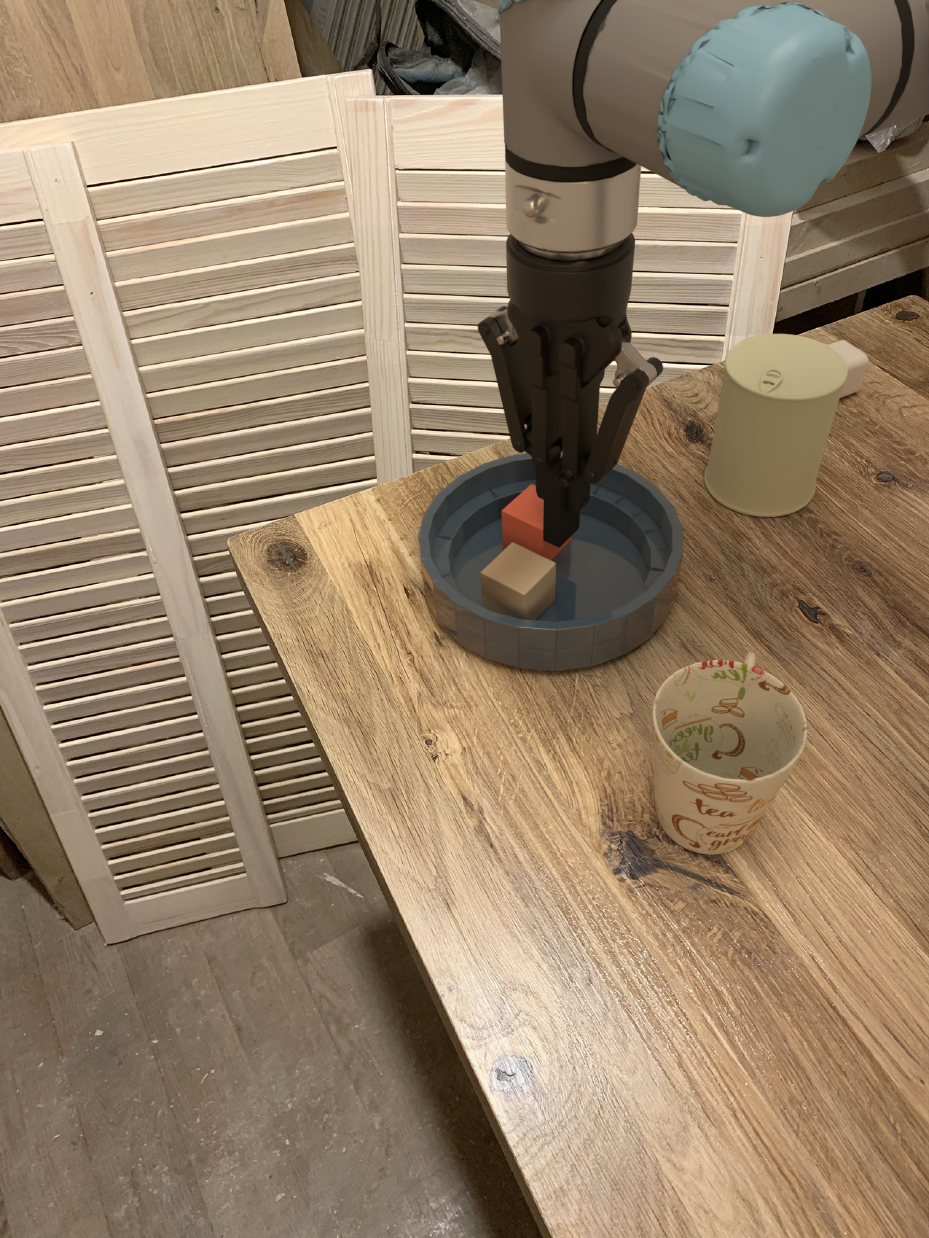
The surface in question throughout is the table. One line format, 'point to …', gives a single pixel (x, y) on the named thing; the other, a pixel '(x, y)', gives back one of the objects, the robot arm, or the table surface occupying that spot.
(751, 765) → the mug
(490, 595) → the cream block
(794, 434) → the can
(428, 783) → the table surface
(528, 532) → the coral block
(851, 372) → the usb wall charger
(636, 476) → the bowl
